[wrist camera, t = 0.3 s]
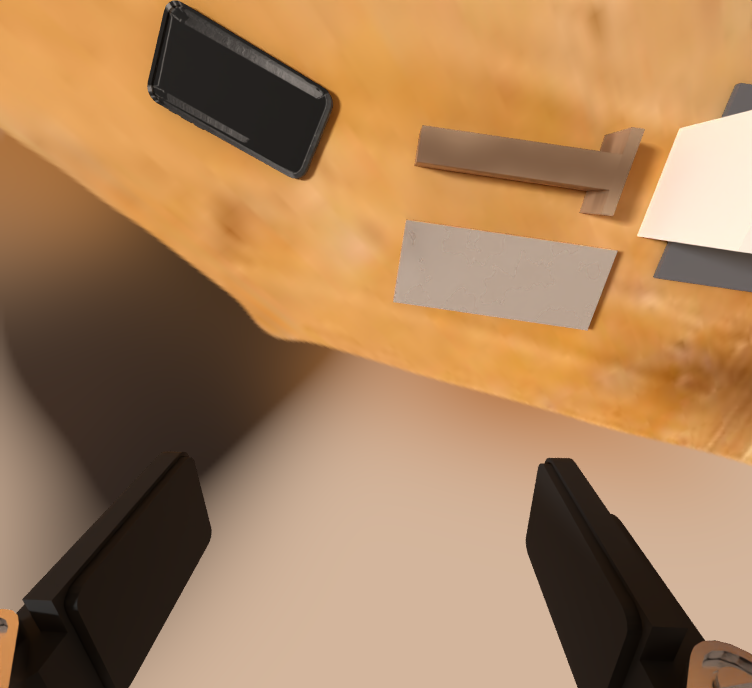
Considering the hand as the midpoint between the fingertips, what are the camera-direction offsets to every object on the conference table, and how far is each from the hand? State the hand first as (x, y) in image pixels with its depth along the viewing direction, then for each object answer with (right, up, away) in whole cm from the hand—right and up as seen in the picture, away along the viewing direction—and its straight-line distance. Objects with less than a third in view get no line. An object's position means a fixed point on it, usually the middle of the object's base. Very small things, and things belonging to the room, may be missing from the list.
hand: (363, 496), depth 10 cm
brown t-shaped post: (+13, +20, +23) cm, 33 cm away
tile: (+27, +18, +23) cm, 40 cm away
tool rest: (+13, +11, +27) cm, 31 cm away
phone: (-11, +26, +23) cm, 36 cm away
